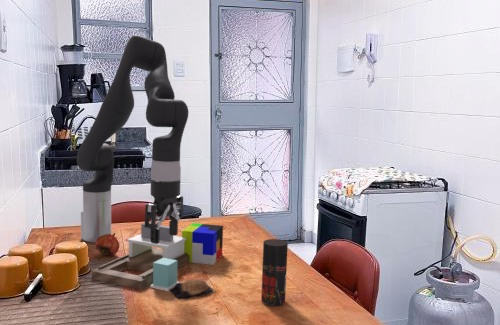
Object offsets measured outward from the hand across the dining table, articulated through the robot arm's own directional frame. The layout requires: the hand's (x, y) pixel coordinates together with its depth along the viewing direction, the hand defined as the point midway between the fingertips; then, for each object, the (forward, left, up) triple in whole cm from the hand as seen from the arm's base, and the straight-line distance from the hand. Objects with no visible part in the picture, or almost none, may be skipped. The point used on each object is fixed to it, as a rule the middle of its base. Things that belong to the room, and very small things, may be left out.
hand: (164, 238), depth 125 cm
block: (0, 0, -12) cm, 12 cm away
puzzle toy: (-2, +25, -13) cm, 28 cm away
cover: (-12, +14, -10) cm, 21 cm away
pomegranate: (-29, +12, -13) cm, 34 cm away
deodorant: (+29, +4, -13) cm, 32 cm away
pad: (0, 0, -13) cm, 13 cm away
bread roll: (+9, 0, -14) cm, 16 cm away
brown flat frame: (-12, +8, -13) cm, 19 cm away
